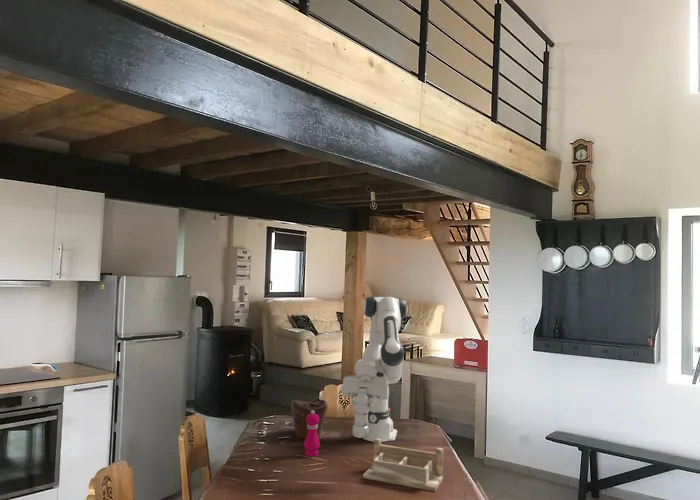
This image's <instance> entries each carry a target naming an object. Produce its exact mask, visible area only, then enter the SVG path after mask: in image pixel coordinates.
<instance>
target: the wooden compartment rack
mask: <svg viewBox="0 0 700 500" xmlns="http://www.w3.org/2000/svg"><path fill="white" fill-rule="evenodd" d="M372 463H373V464H372V465H371V466H370V467H369V468H368V469H366V471H364V473H362V479H364V480H365V479H366V480H372V481H375V482H376V481H377V482H383V483H386V484H387V483H388V484H393V485H399V486H405V487H409V488H413V489H414V488H416V489H421V490H425V491H432V492H436V491H437V490H438V488H439V486H440V484H441V483H442V482H443V479H444V449H443V448H441V447H436V448H435V452H433V451H424V450H419V449H414V448H406V447H400V446H393V445H387V444H382V442H381V439H374V442H373V462H372Z"/></svg>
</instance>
